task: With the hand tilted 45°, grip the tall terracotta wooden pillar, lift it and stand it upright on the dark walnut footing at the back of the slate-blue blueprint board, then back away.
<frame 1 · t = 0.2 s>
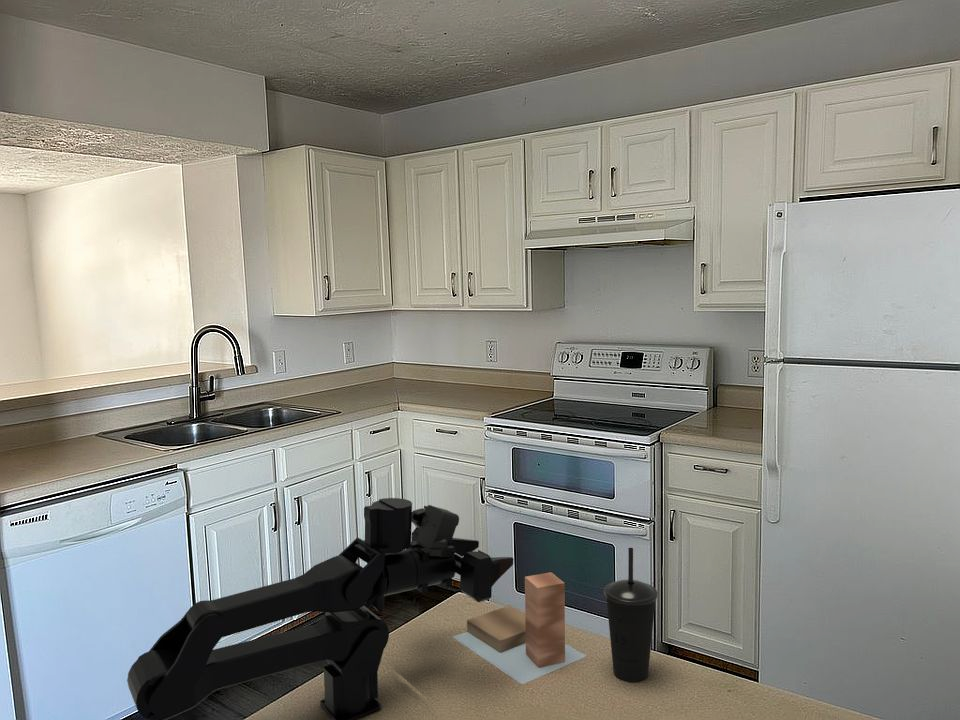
hand: (495, 552, 113), 17 cm above the countertop, tool horizontal, fingers open, 9 cm apart
walnut footing: (505, 633, 119), resting on blueprint board
terracotta pillar: (545, 658, 111), point 1 cm above the countertop, touching blueprint board
drinking cup: (630, 680, 106), on the countertop
blueprint board: (517, 652, 115), on the countertop
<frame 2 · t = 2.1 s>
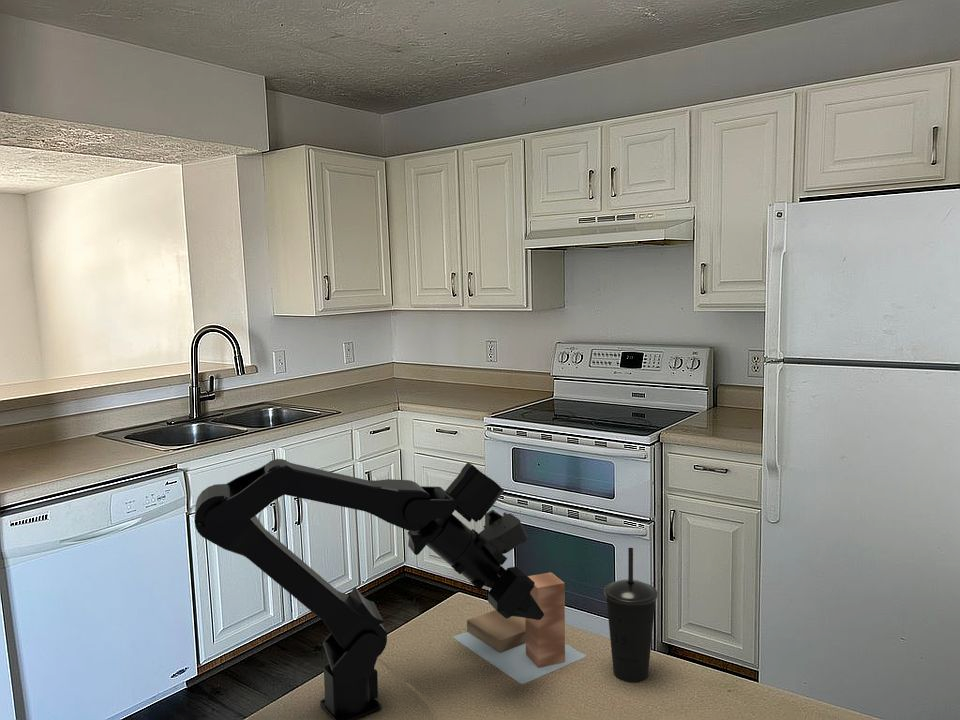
hand: (528, 604, 109), 10 cm above the countertop, tool tilted 45°, fingers open, 9 cm apart
nothing on the countertop moved.
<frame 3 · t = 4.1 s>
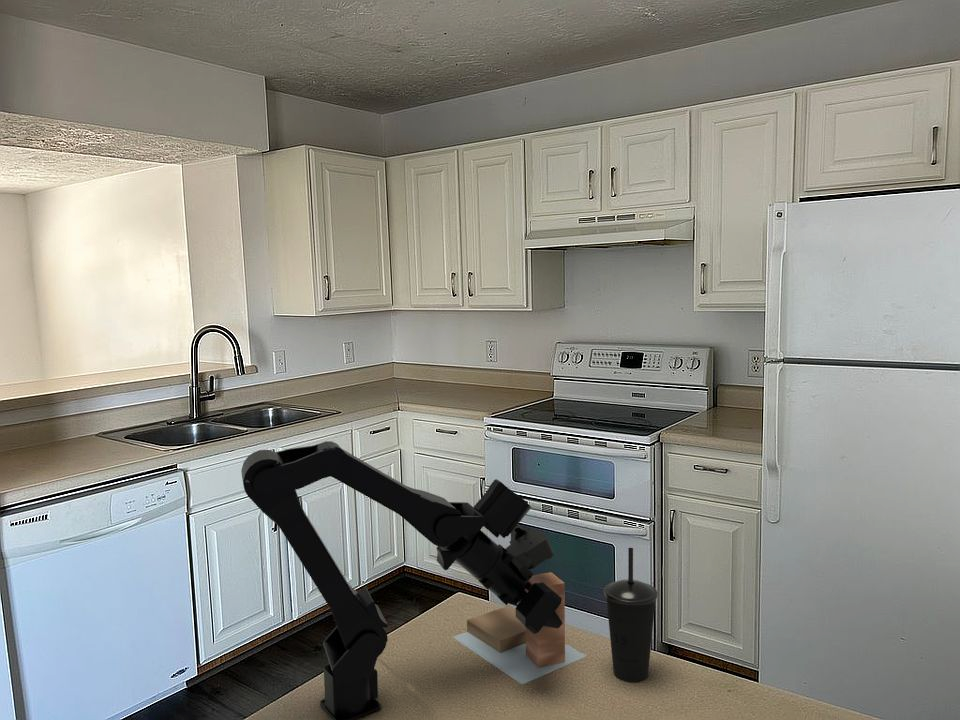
hand: (553, 618, 111), 7 cm above the countertop, tool tilted 45°, fingers closed on terracotta pillar, 4 cm apart
terracotta pillar: (545, 658, 111), point 1 cm above the countertop, touching blueprint board, gripper
everything else where it was.
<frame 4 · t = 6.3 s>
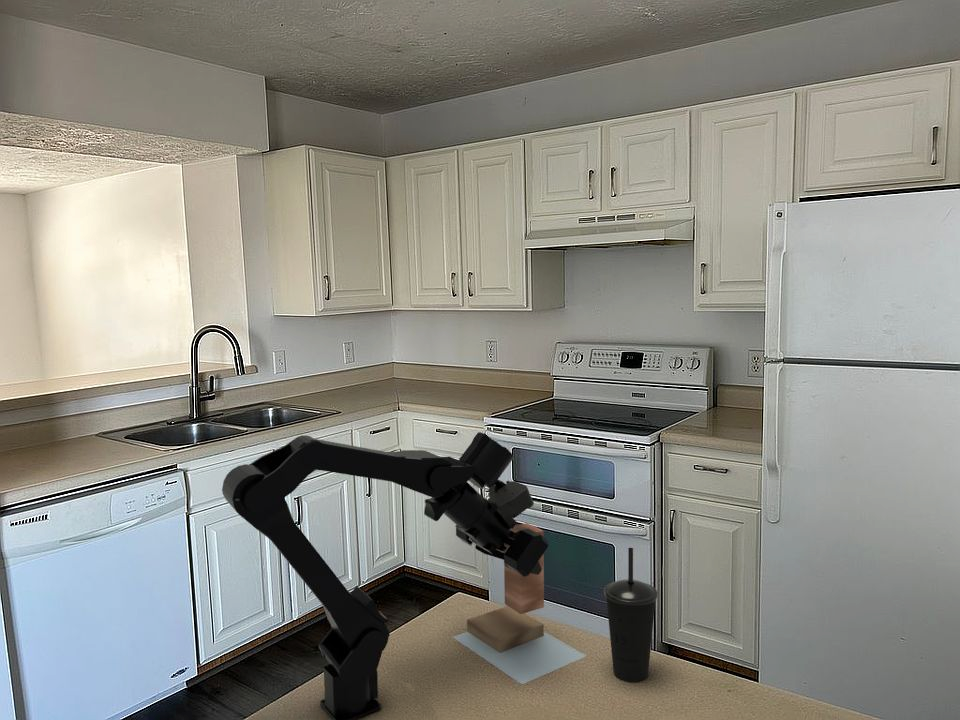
hand: (530, 566, 115), 13 cm above the countertop, tool tilted 45°, fingers closed on terracotta pillar, 4 cm apart
terracotta pillar: (524, 605, 115), point 7 cm above the countertop, touching gripper
everything else where it was.
when the fingers open (10 cm above the countertop, at t = 8.3 s): terracotta pillar drops 1 cm, resting on walnut footing.
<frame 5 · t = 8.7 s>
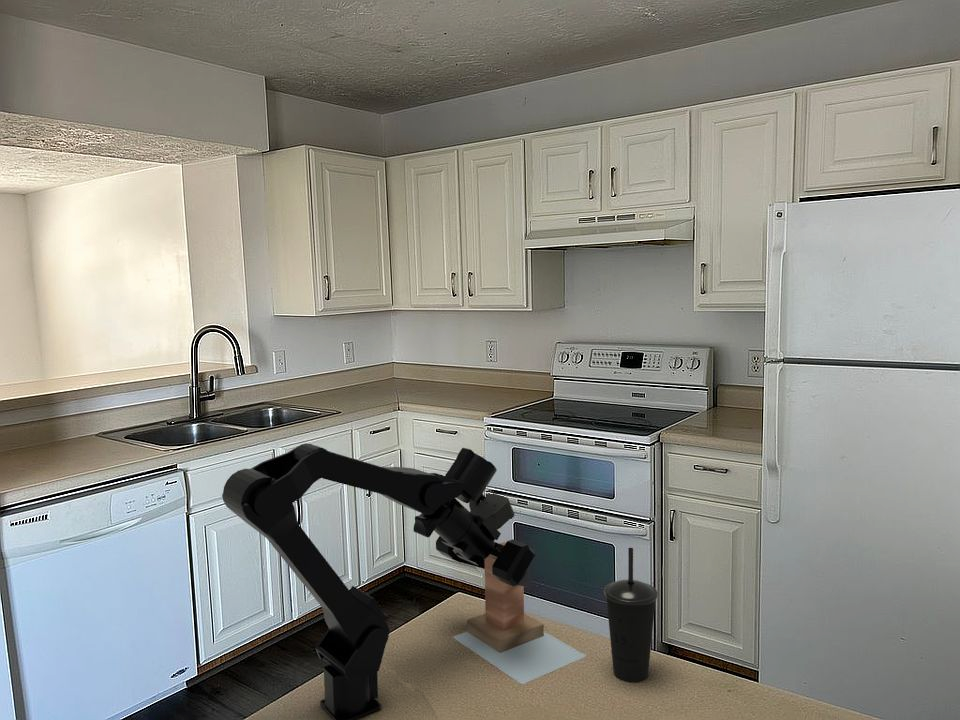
hand: (510, 575, 119), 11 cm above the countertop, tool tilted 45°, fingers open, 9 cm apart
terracotta pillar: (504, 622, 119), point 3 cm above the countertop, touching walnut footing
everything else where it was.
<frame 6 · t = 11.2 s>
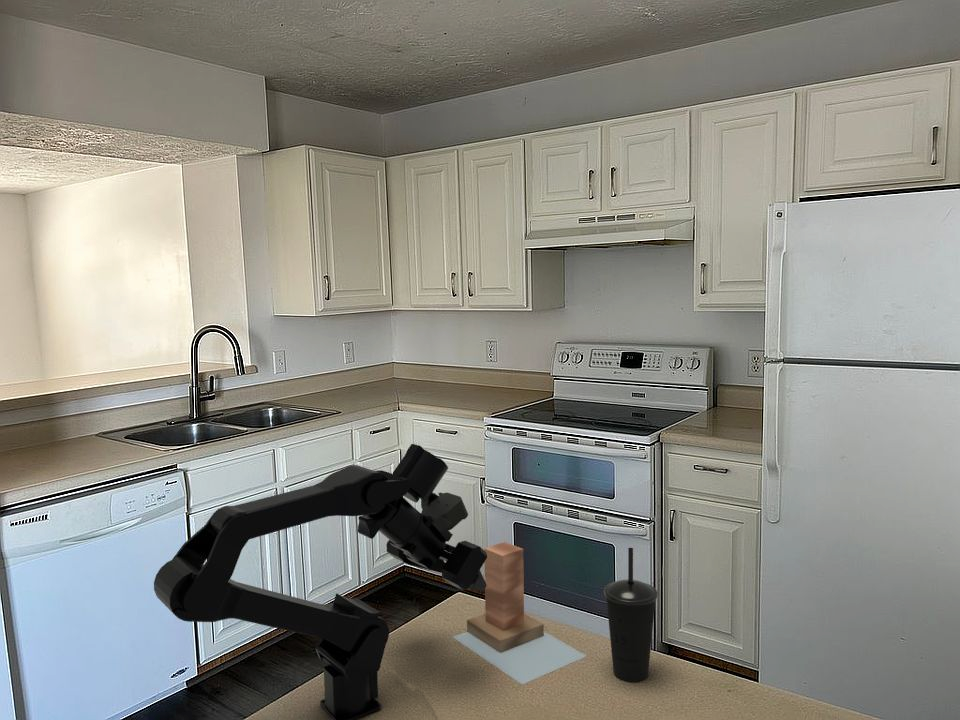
hand: (465, 579, 113), 13 cm above the countertop, tool tilted 45°, fingers open, 9 cm apart
nothing on the countertop moved.
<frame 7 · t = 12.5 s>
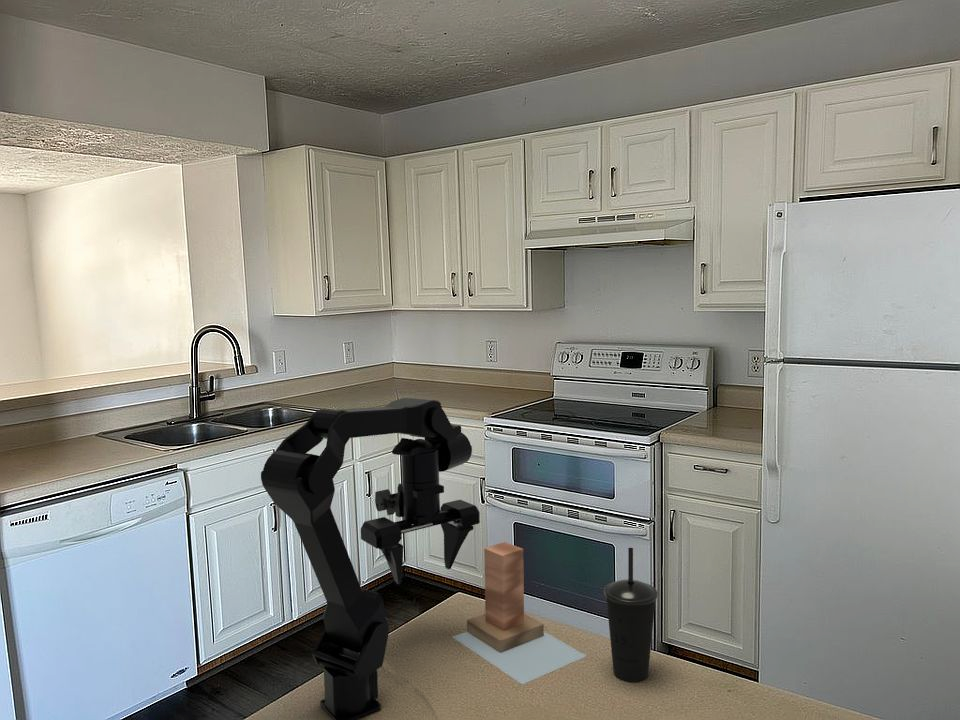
hand: (423, 575, 113), 13 cm above the countertop, tool pointing down, fingers open, 9 cm apart
nothing on the countertop moved.
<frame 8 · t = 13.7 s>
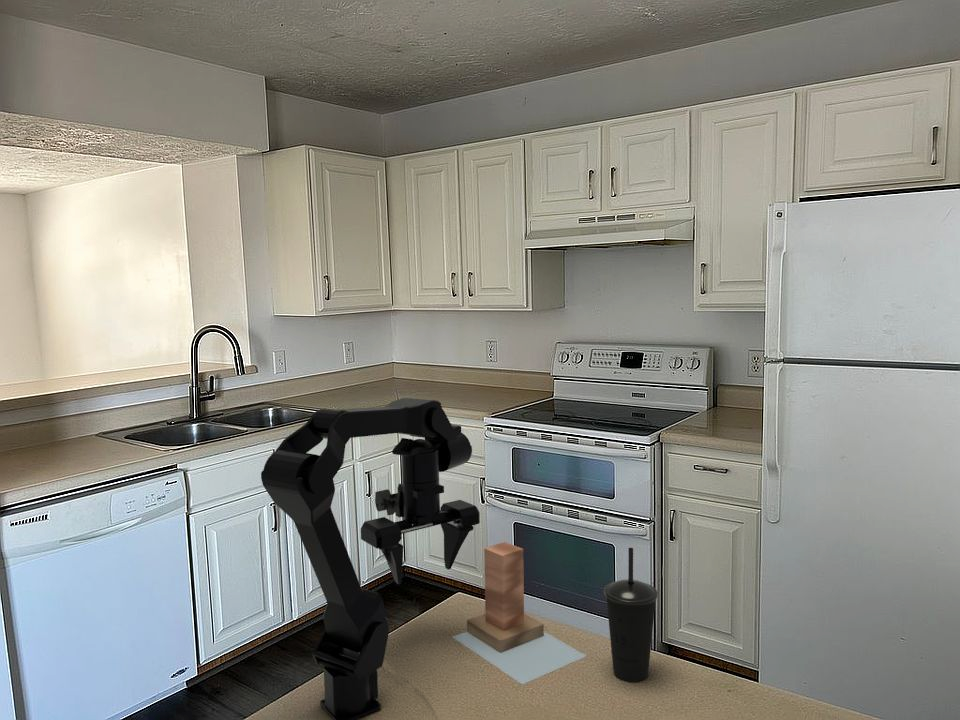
hand: (423, 575, 113), 13 cm above the countertop, tool pointing down, fingers open, 9 cm apart
nothing on the countertop moved.
at the end: terracotta pillar 0.0 cm off-centre on the walnut footing, point 2.0 cm above the walnut footing's base; terracotta pillar tilted 0°; the gripper is holding nothing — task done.
